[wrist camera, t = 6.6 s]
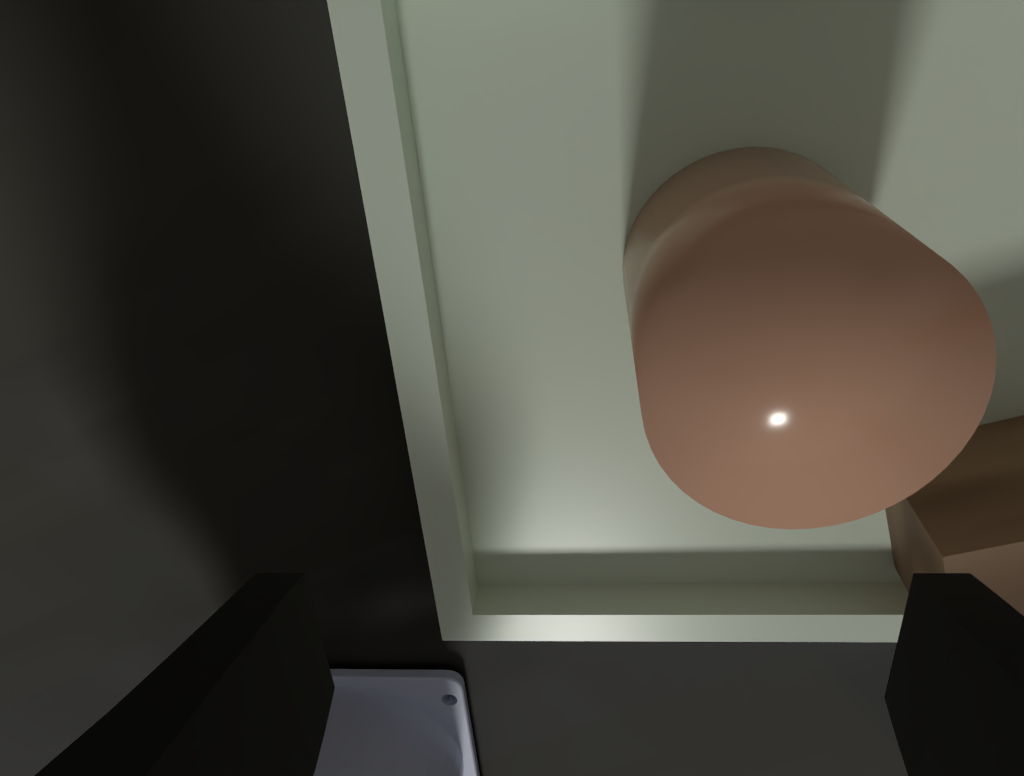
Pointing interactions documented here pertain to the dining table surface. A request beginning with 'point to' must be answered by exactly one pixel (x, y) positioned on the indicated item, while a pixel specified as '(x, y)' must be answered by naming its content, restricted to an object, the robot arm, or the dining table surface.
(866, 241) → the tan cylinder
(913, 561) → the walnut block
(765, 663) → the dining table surface
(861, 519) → the tray
